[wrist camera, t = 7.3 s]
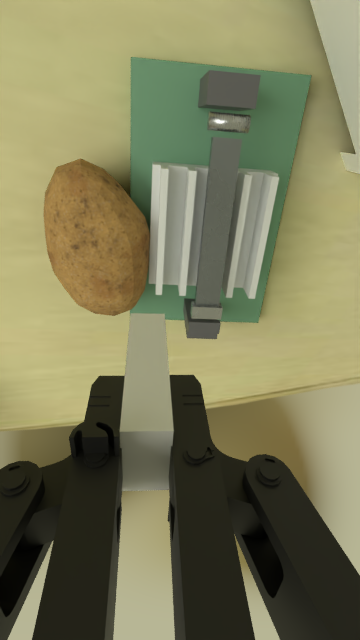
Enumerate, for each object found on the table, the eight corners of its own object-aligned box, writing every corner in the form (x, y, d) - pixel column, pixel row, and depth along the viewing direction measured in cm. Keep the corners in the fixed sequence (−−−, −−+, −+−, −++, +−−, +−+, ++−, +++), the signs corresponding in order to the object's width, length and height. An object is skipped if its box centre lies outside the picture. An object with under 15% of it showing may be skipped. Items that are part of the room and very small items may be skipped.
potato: (136, 146, 32) (129, 152, 25) (162, 283, 39) (163, 318, 32) (33, 163, 32) (-1, 175, 25) (78, 296, 39) (60, 334, 32)
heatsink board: (132, 59, 29) (124, 40, 22) (304, 77, 30) (347, 64, 23) (130, 311, 41) (125, 349, 34) (254, 316, 42) (273, 353, 35)
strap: (208, 111, 25) (210, 110, 24) (247, 115, 26) (252, 114, 25) (189, 311, 33) (190, 318, 32) (219, 312, 34) (222, 319, 32)
